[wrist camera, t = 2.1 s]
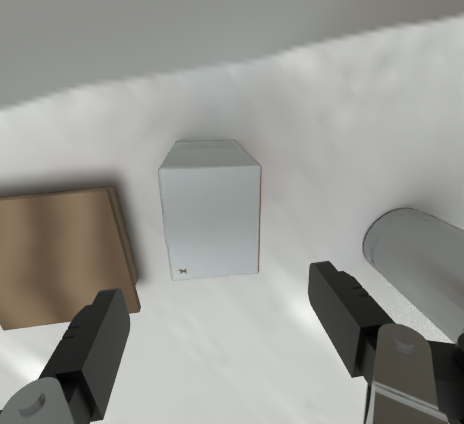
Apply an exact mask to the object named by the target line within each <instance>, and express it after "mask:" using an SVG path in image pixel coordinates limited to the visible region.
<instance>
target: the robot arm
mask: <svg viewBox="0 0 464 424" xmlns="http://www.w3.org/2000/svg"><path fill="white" fill-rule="evenodd" d="M363 251H364V256H365V258H366V260H367V261H368V262H369V263H370V264H371V265H372V266H373V267H374V268H375V269H376V270H377V271H378V272H379V273H380V274H381V275H382V276H383V277H384V278H385V279H387V281H388V282H390V283H391V284H392V285H393V286H394V287H395V288H396V289H397V290H398V291H399V292H400V293H401V294H402V295H403V296H404V297H406V298H407V299H408V300H409V301H410V302H411V303H412V304H413V305H414V306H415V307H416V308H417V309H418V310H419V311H420V312H422V313H423V314H424V315H425V316H426V317H427V318H428V319H429V320H430V321H431V322H432V323H433V324H434V325H435V326H436V327H438V328H439V329H440V330H441V331H442V332H443V333H444V334H445V335H446V336H447V337H448V338H449V339H450V340H451V341H452V342H454V343H455V344H452V343H444V342H436V341H429V340H426V339H425V338H424V337H423V336H422V335H421V334H419V333H418V332H417V331H415V330H413V329H412V328H409V327H407V326H404V325H401V324H396V323H395V322H394V321H393V320H392V319H391V318H390V317H389V316H388V315H387V313H386V312H385V311H384V310H383V309H382V308H381V307H380V306H379V305H378V303H377V302H376V301H375V300H374V299H373V298H372V297H371V296H369V293H368V292H367V291H366V290H365V289H364V288H362V286H361V285H360V283H359V282H358V281H357V280H356V279H355V278H354V277H352V276H351V275H349V274H347V273H346V272H344V271H339V272H338V271H337V270H336V268H335V267H334V266H333V265H332V264H331V262H329V261H324V262H316V263H311V264H310V268H309V285H308V296H309V300H310V304H311V306H312V308H313V310H314V311H315V313H316V315H317V317H318V318H319V320H320V322H321V324H322V326H323V327H324V329H325V331H326V333H327V334H328V336H329V338H330V340H331V342H332V343H333V345H334V347H335V349H336V350H337V352H338V354H339V356H340V357H341V359H342V361H343V363H344V365H345V366H346V368H347V370H348V372H349V373H350V375H351V377H352V378H353V377H359V376H364V378H365V380H366V381H367V383H368V384H367V389H366V398H365V407H364V416H363V424H464V230H462V229H460V228H458V227H455V226H453V225H451V224H449V223H447V222H445V221H443V220H441V219H439V218H437V217H434V216H428V215H426V214H424V213H422V212H420V211H417V210H415V209H409V208H404V209H398V210H394V211H392V212H390V213H388V214H386V215H384V216H383V217H381V218H380V219H378V220H377V221H376V222H375V223H374V224H373V226H372V227H371V228H370V230H369V231H368V233H367V235H366V237H365V241H364V246H363ZM129 331H130V317H129V313H128V310H127V306H126V303H125V299H124V296H123V293H122V290H121V289H120V288H115V289H107V290H100V291H99V292H98V293H97V295H96V297H95V299H94V301H93V303H92V305H86V306H85V307H84V308H83V309H81V310H80V311H79V312H78V313H77V314H76V315H75V316H74V318H73V320H72V321H71V323H70V325H69V327H68V330H66V332H65V333H64V335H63V337H62V340H60V342H59V344H58V346H57V347H56V349H55V351H54V352H53V354H52V356H51V358H50V359H49V361H48V363H47V364H46V366H45V368H44V370H43V371H42V373H41V375H40V377H39V378H38V380H35V381H33V382H31V383H29V384H27V385H26V386H24V387H23V388H21V389H20V390H19V391H18V392H17V393H15V394H14V395H13V396H12V397H11V399H10V400H9V401H8V402H7V403H6V405H5V406H4V408H3V409H2V410H0V424H90V422H93V421H99V420H103V419H104V415H105V412H106V409H107V405H108V402H109V399H110V395H111V392H112V388H113V385H114V382H115V378H116V375H117V372H118V368H119V365H120V362H121V358H122V355H123V352H124V348H125V345H126V342H127V338H128V335H129ZM448 422H449V423H448Z"/></svg>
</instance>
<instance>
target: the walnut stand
mask: <svg viewBox="0 0 464 424" xmlns="http://www.w3.org/2000/svg"><path fill="white" fill-rule="evenodd" d="M137 280H138V276H137V272H136V268H135V264H134V260H133V256H132V252H131V248H130V244H129V240H128V236H127V232H126V228H125V225H124V221H123V217H122V213H121V209H120V205H119V201H118V197H117V193H116V189H115V186H111V187H100V188H90V189H80V190H69V191H59V192H49V193H38V194H28V195H18V196H7V197H0V325H1V327H2V328H3V330H11V329H18V328H26V327H33V326H41V325H48V324H56V323H63V322H71V321H72V320H73V318H74V316H75V315H76V314H77V313H78V312H79V311H80V310H81V309H83V308H84V307H85V306H86V305H92V303H93V301H94V299H95V297H96V295H97V293H98V292H99V291H100V290H107V289H115V288H120V289H121V290H122V293H123V296H124V299H125V303H126V306H127V310H128V313H129V314H130V313H138V312H140V308H141V306H140V302H139V298H138V294H137V291H136V287H135V285H136V282H137Z"/></svg>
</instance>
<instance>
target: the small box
mask: <svg viewBox="0 0 464 424" xmlns="http://www.w3.org/2000/svg"><path fill="white" fill-rule="evenodd" d="M158 176H159V186H160V196H161V204H162V213H163V223H164V234H165V241H166V246H167V250H168V257H169V264H170V271H171V278H172V280H173V281H177V280H189V279H202V278H213V277H224V276H235V275H246V274H256V273H258V272H259V250H260V210H261V165H260V164H259V163H258V162H257V161H256V160H255V159H254V158H253V157H252V156H250V155H249V154H248V153H247V152H246V151H245V150H244V149H243V148H242V147H241V146H240V145H239V144H238V143H237V142H236V141H234V140H219V141H184V142H176V143H175V144H174V146H173V147H172V149H171V150H170V152H169V154H168V155H167V157H166V158H165V160H164V162H163V163H162V165H161V166H160V168H159V169H158Z"/></svg>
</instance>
